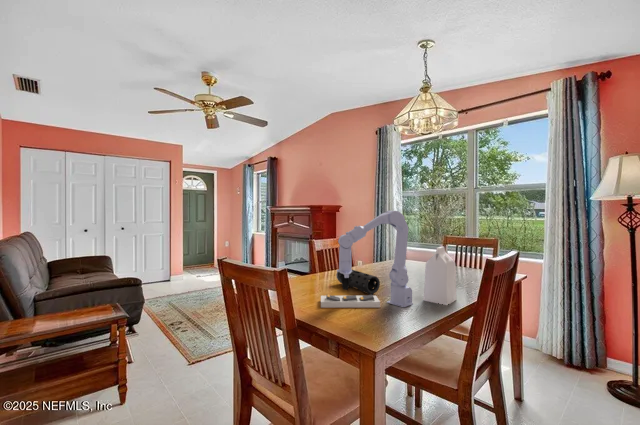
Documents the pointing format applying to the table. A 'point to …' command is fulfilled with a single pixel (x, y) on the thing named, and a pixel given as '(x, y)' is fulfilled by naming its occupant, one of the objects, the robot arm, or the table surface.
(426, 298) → the milk
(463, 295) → the table surface
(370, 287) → the black foam roller
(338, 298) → the rocker
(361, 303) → the switch strip
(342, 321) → the table surface
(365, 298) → the rocker
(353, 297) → the middle rocker
